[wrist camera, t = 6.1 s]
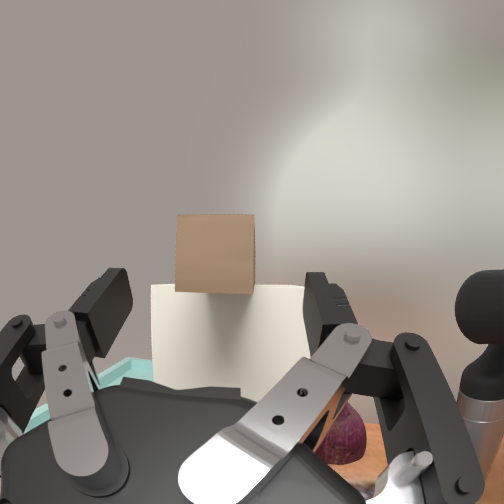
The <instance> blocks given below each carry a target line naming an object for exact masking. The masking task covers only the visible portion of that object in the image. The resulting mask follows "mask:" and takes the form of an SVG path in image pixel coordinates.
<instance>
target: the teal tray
mask: <svg viewBox="0 0 504 504" xmlns="http://www.w3.org/2000/svg"><path fill="white" fill-rule="evenodd" d="M98 377H99V380H100V383H101V385H102V388H105V387H108V386H113V385H120V383H121V381H122V378H123V377H130V378H136V379H143V380H150V381H152V382H154V378H153V361H152V360H146V359H139V358H132V357H127V358H125V359H123V360H122V361H120V362H118V363H117V364H115V365H113V366H111V367H110V368H108V369H106V370H105V371H103V372H101V373H99V374H98ZM49 419H50V415H49V409H48V403H46V404H44V405H43V406H41V407H39V408H37V409H35V410H34V412H33V414H32V416H31V418H30V421H29V423H28V425H27V427H26V429H25V432H24V434H25V433H26V432H28V431H30V430H32V429H33V428H35V427H37V426H38V425H40V424H42V423H43V422H45V421H47V420H49Z"/></svg>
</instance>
